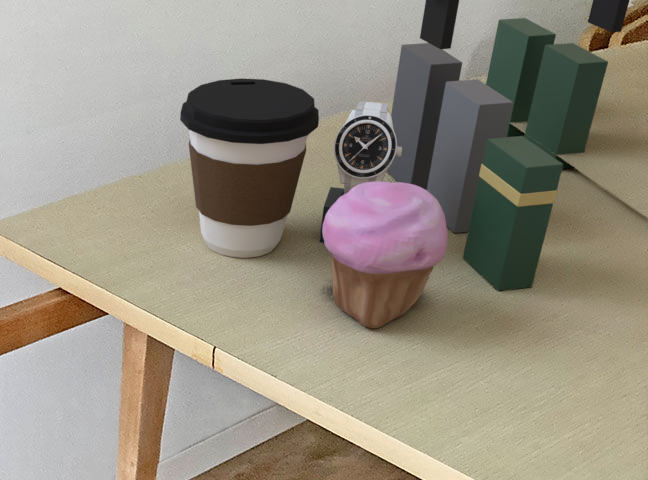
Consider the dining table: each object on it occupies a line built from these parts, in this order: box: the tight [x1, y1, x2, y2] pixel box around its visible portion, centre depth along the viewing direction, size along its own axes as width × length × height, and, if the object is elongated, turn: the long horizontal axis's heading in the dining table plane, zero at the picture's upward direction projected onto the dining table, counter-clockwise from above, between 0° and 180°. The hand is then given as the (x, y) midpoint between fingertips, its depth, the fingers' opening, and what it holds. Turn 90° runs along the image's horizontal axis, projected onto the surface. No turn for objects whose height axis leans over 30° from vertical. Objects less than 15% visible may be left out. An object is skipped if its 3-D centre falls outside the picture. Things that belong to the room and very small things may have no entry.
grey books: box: [386, 42, 513, 234], centre depth 95 cm, size 15×3×12 cm, turn 14°
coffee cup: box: [179, 78, 320, 259], centre depth 87 cm, size 11×11×12 cm
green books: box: [485, 17, 609, 170], centre depth 107 cm, size 15×3×10 cm, turn 14°
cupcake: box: [322, 181, 448, 329], centre depth 79 cm, size 9×9×10 cm
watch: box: [319, 100, 402, 243], centre depth 89 cm, size 6×8×11 cm
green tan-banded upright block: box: [462, 136, 563, 292], centre depth 84 cm, size 6×3×10 cm, turn 14°
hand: (521, 35), depth 74 cm, fingers open, 13 cm apart
